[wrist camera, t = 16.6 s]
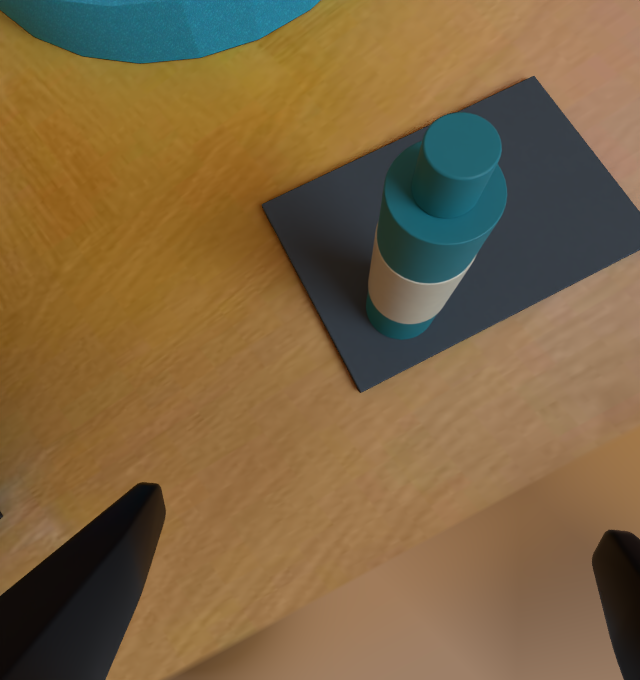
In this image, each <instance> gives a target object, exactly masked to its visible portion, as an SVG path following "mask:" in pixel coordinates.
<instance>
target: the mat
mask: <svg viewBox="0 0 640 680" xmlns="http://www.w3.org/2000/svg"><path fill="white" fill-rule="evenodd" d="M458 112H466V113H472V114H475V115H478V116H480V117H482V118H484V119H486V120H487V121H488V122H490V123H491V124H492V125H493V126H494V127H495V129H496V130H497V132H498V134H499V136H500V139H501V144H502V152H501V157H500V159H499V162H498V165H499V167H500V169H501V171H502V173H503V175H504V178H505V181H506V186H507V201H506V205H505V209H504V212H503V214H502V216H501V218H500V219H499V221H498V222H497V224H496V225H495V227H494V228H493V230H492V231H491V233H490V235H489V236H488V238H487V239H486V241H485V242H484V244H483V245H482V247H481V248H480V250H479V251H478V253H477V255H476V257H475V259H474V261H473V263H472V264H471V266H470V267H469V269H468V270H467V272H466V273H465V275H464V276H463V278H462V279H461V281H460V282H459V284H458V285H457V287H456V288H455V290H454V291H453V293H452V294H451V296H450V297H449V299H448V300H447V302H446V303H445V305H444V306H443V308H442V309H441V310H440V311H439V313H437V315H436V316H435V318H434V319H433V321H432V322H431V324H430V325H429V327H428V328H427V329H426V330H425V331H424V332H423V333H421V334H420V335H418V336H416V337H413V338H410V339H403V340H400V339H393V338H389V337H387V336H385V335H383V334H381V333H380V332H379V331H377V330H376V329H375V328H374V327H373V325H372V324H371V322H370V320H369V318H368V316H367V312H366V301H367V294H368V280H369V273H370V266H371V259H372V252H373V246H374V239H375V232H376V227H377V224H378V221H379V215H380V208H381V201H382V195H383V188H384V182H385V177H386V174H387V171H388V169H389V167H390V165H391V164H392V162H393V161H394V160H395V158H396V157H397V156H398V155H399V154H400V153H401V152H403V151H404V150H405V149H406V148H408V147H410V146H411V145H413V144H415V143H417V142H420V141H422V140H423V136H424V134H425V132H426V130H427V129H428V127H429V126H430V125H429V126H427V127H425V128H422V129H420V130H418V131H416V132H414V133H412V134H410V135H408V136H405V137H403V138H401V139H399V140H397V141H395V142H393V143H391V144H389V145H386V146H384V147H382V148H380V149H378V150H376V151H374V152H372V153H369V154H367V155H365V156H363V157H361V158H359V159H357V160H355V161H353V162H350V163H348V164H346V165H344V166H342V167H340V168H338V169H336V170H333V171H331V172H329V173H327V174H325V175H323V176H321V177H319V178H317V179H314V180H312V181H310V182H308V183H306V184H304V185H302V186H300V187H297V188H295V189H293V190H291V191H289V192H287V193H285V194H283V195H281V196H278V197H276V198H274V199H272V200H270V201H268V202H266V203H264V204H262V208H263V210H264V212H265V214H266V216H267V217H268V219H269V221H270V223H271V225H272V227H273V229H274V231H275V233H276V234H277V236H278V238H279V240H280V242H281V244H282V246H283V248H284V250H285V251H286V253H287V255H288V257H289V259H290V261H291V263H292V265H293V267H294V269H295V270H296V272H297V274H298V276H299V278H300V280H301V282H302V284H303V286H304V287H305V289H306V291H307V293H308V295H309V297H310V299H311V301H312V303H313V304H314V306H315V308H316V310H317V312H318V314H319V316H320V318H321V320H322V321H323V323H324V325H325V327H326V329H327V331H328V333H329V335H330V337H331V339H332V340H333V342H334V344H335V346H336V348H337V350H338V352H339V354H340V356H341V357H342V359H343V361H344V363H345V365H346V367H347V369H348V371H349V373H350V374H351V376H352V378H353V380H354V382H355V384H356V386H357V388H358V390H359V391H360V393H361V392H363V391H365V390H367V389H369V388H371V387H373V386H375V385H377V384H379V383H381V382H383V381H385V380H387V379H389V378H391V377H393V376H395V375H397V374H398V373H400V372H402V371H404V370H406V369H408V368H410V367H412V366H414V365H416V364H418V363H420V362H422V361H424V360H426V359H428V358H430V357H432V356H434V355H436V354H438V353H439V352H441V351H443V350H445V349H447V348H449V347H451V346H453V345H455V344H457V343H459V342H461V341H463V340H465V339H467V338H469V337H471V336H473V335H475V334H477V333H479V332H481V331H482V330H484V329H486V328H488V327H490V326H492V325H494V324H496V323H498V322H500V321H502V320H504V319H506V318H508V317H510V316H512V315H514V314H516V313H518V312H520V311H522V310H524V309H525V308H527V307H529V306H531V305H533V304H535V303H537V302H539V301H541V300H543V299H545V298H547V297H549V296H551V295H553V294H555V293H557V292H559V291H561V290H563V289H565V288H566V287H568V286H570V285H572V284H574V283H576V282H578V281H580V280H582V279H584V278H586V277H588V276H590V275H592V274H594V273H596V272H598V271H600V270H602V269H604V268H606V267H608V266H609V265H611V264H613V263H615V262H617V261H619V260H621V259H623V258H625V257H627V256H629V255H631V254H633V253H635V252H637V251H639V250H640V212H639V210H638V209H637V208H636V206H635V205H634V204H633V203H632V201H631V200H630V199H629V197H628V196H627V195H626V194H625V192H624V191H623V190H622V188H621V187H620V186H619V185H618V183H617V182H616V181H615V179H614V178H613V177H612V176H611V174H610V173H609V172H608V170H607V169H606V168H605V167H604V165H603V164H602V163H601V161H600V160H599V159H598V157H597V156H596V155H595V154H594V152H593V151H592V150H591V148H590V147H589V146H588V145H587V143H586V142H585V141H584V139H583V138H582V137H581V136H580V134H579V133H578V132H577V130H576V129H575V128H574V127H573V125H572V124H571V123H570V121H569V120H568V119H567V118H566V116H565V115H564V114H563V112H562V111H561V110H560V109H559V107H558V106H557V105H556V103H555V102H554V101H553V99H552V98H551V97H550V96H549V94H548V93H547V92H546V90H545V89H544V88H543V87H542V85H541V84H540V83H539V81H538V80H537V79H536V78H535V76H533V77H530V78H528V79H526V80H524V81H522V82H520V83H518V84H516V85H513V86H511V87H509V88H507V89H505V90H503V91H501V92H499V93H497V94H494V95H492V96H490V97H488V98H486V99H484V100H482V101H480V102H477V103H475V104H473V105H471V106H469V107H467V108H465V109H463V110H461V111H458Z"/></svg>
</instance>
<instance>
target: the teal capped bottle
mask: <svg viewBox="0 0 640 680" xmlns="http://www.w3.org/2000/svg"><path fill="white" fill-rule="evenodd" d="M501 152H502V144H501V139H500V136H499V134H498V132H497V130H496V129H495V127H494V126H493V125H492V124H491V123H490V122H488V121H487V120H486V119H484V118H482V117H480V116H478V115H475V114H472V113H466V112H456V113H450V114H447V115H444V116H442V117H440V118H438V119H437V120H435V121H434V122H433V123H432V124H431V125H430V126H429V127H428V129H427V130H426V132H425V134H424V136H423V140H422V141H420V142H417V143H415V144H413V145H411V146H410V147H408V148H406V149H405V150H404V151H403V152H401V153H400V154H399V155H398V156H397V157H396V158H395V160H394V161H393V162H392V164H391V165H390V167H389V169H388V171H387V174H386V177H385V182H384V188H383V195H382V201H381V208H380V215H379V221H378V224H377V227H376V232H375V239H374V246H373V252H372V259H371V266H370V273H369V280H368V294H367V301H366V312H367V316H368V318H369V320H370V322H371V324H372V325H373V327H374V328H375V329H376V330H377V331H379V332H380V333H381V334H383V335H385V336H387V337H389V338H393V339H400V340H403V339H410V338H413V337H416V336H418V335H420V334H421V333H423V332H424V331H425V330H426V329H427V328H428V327H429V325H430V324H431V322H432V321H433V319H434V318H435V316H436V315H437V313H439V311H440V310H441V309H442V308H443V306H444V305H445V303H446V302H447V300H448V299H449V297H450V296H451V294H452V293H453V291H454V290H455V288H456V287H457V285H458V284H459V282H460V281H461V279H462V278H463V276H464V275H465V273H466V272H467V270H468V269H469V267H470V266H471V264H472V263H473V261H474V259H475V257H476V255H477V253H478V251H479V250H480V248H481V247H482V245H483V244H484V242H485V241H486V239H487V238H488V236H489V235H490V233H491V231H492V230H493V228H494V227H495V225H496V224H497V222H498V221H499V219H500V218H501V216H502V214H503V212H504V209H505V205H506V201H507V186H506V181H505V178H504V175H503V173H502V171H501V169H500V167H499V165H498V162H499V159H500V157H501Z"/></svg>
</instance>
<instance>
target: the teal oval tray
mask: <svg viewBox="0 0 640 680" xmlns="http://www.w3.org/2000/svg"><path fill="white" fill-rule="evenodd" d="M319 1H320V0H0V10H1V11H2V12H4V13H5V14H6V15H7V16H9V17H10V18H11V19H12V20H14V21H15V22H16V23H17V24H19V25H20V26H21V27H22V28H24V29H25V30H26V31H27V32H29V33H30V34H31V35H32V36H34V37H36V38H38V39H41V40H43V41H46V42H48V43H51V44H53V45H56V46H59V47H61V48H64V49H66V50H69V51H71V52H74V53H76V54H79V55H81V56H86V57H93V58H101V59H109V60H117V61H125V62H133V63H150V62H160V61H170V60H181V59H191V58H201V57H204V56H207V55H211V54H214V53H217V52H220V51H223V50H226V49H229V48H233V47H236V46H239V45H242V44H245V43H248V42H251V41H255V40H258V39H260V38H262V37H264V36H265V35H267V34H269V33H271V32H272V31H274V30H276V29H278V28H279V27H281V26H283V25H285V24H286V23H288V22H290V21H292V20H293V19H295V18H297V17H298V16H300V15H302V14H304V13H305V12H307V11H309V10H311V9H312V8H313V7H314V6H315V5H316V4H317V3H318V2H319Z"/></svg>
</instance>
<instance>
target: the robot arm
mask: <svg viewBox="0 0 640 680" xmlns="http://www.w3.org/2000/svg"><path fill="white" fill-rule="evenodd" d="M165 515H166V509H165V504H164V499H163V495H162V490H161V487H160V485H159V484H156V483H146V482H141V483H139V484H137V485H135V486H134V487H133V488H132V489H130V490H129V491H128V492H127V493H126V494H124V495H123V496H122V497H121V498H119V499H118V500H117V501H116V502H115V503H113V504H112V505H111V506H110V507H108V508H107V509H106V510H105V511H104V512H102V513H101V514H100V515H99V516H97V517H96V518H95V519H94V520H93V521H91V522H90V523H89V524H88V525H86V526H85V527H84V528H83V529H82V530H80V531H79V532H78V533H77V534H75V535H74V536H73V537H72V538H71V539H69V540H68V541H67V542H66V543H64V544H63V545H62V546H61V547H60V548H58V549H57V550H56V551H55V552H53V553H52V554H51V555H50V556H49V557H47V558H46V559H45V560H44V561H42V562H41V563H40V564H39V565H38V566H36V567H35V568H34V569H33V570H31V571H30V572H29V573H28V574H27V575H25V576H24V577H23V578H22V579H20V580H19V581H18V582H17V583H16V584H14V585H13V586H12V587H11V588H9V589H8V590H7V591H6V592H5V593H3V594H2V595H1V596H0V680H105V679H106V677H107V674H108V672H109V670H110V667H111V665H112V663H113V660H114V658H115V656H116V653H117V651H118V649H119V646H120V644H121V641H122V639H123V637H124V634H125V632H126V630H127V627H128V625H129V623H130V620H131V618H132V616H133V613H134V611H135V609H136V606H137V604H138V601H139V599H140V596H141V594H142V591H143V588H144V585H145V582H146V579H147V575H148V572H149V569H150V566H151V563H152V559H153V556H154V553H155V550H156V547H157V543H158V540H159V537H160V534H161V530H162V527H163V524H164V521H165ZM592 566H593V570H594V574H595V578H596V583H597V586H598V591H599V595H600V599H601V603H602V606H603V611H604V615H605V619H606V623H607V627H608V631H609V635H610V639H611V642H612V646H613V649H614V652H615V655H616V659H617V662H618V665H619V667H620V670H621V673H622V676H623V678H624V680H640V539H639V538H638V537H636V536H635V535H634V534H632V533H630V532H627V531H619V530H608V531H606V532H605V533H604V535H603V537H602V539H601V540H600V542H599V544H598V546H597V548H596V550H595V552H594V554H593V557H592Z"/></svg>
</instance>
